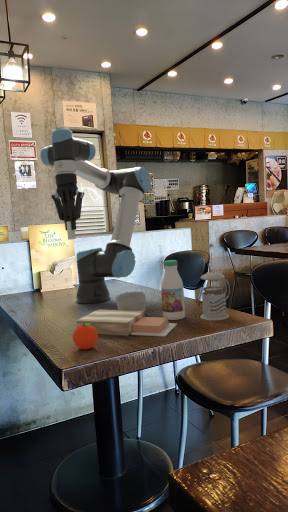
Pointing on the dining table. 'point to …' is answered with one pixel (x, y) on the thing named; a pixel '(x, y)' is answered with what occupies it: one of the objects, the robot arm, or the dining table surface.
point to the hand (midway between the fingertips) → (71, 239)
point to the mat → (162, 333)
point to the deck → (112, 321)
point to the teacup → (131, 301)
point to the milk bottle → (172, 292)
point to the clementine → (85, 336)
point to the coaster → (150, 324)
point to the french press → (214, 297)
